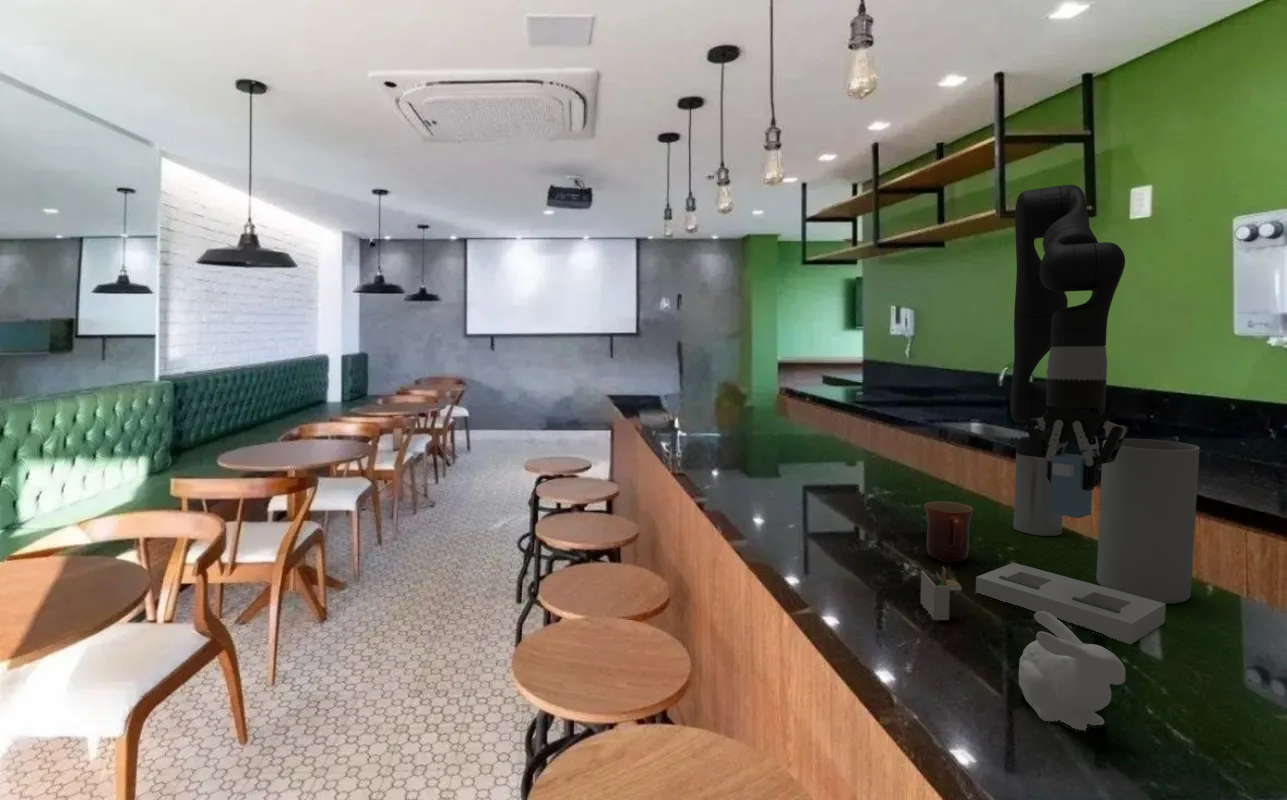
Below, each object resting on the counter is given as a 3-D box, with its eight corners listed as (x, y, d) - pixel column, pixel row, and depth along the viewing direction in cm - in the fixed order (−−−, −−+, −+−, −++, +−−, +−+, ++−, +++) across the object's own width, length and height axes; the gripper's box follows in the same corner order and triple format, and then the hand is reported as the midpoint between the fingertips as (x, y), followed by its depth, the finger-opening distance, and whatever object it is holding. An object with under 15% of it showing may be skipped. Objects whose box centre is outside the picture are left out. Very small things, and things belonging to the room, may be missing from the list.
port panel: (1013, 579, 114) (1013, 561, 113) (1164, 623, 95) (1165, 601, 95) (975, 594, 107) (976, 575, 107) (1130, 644, 89) (1131, 621, 88)
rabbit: (1133, 742, 67) (1139, 632, 66) (1048, 746, 67) (1053, 636, 66) (1053, 681, 79) (1057, 588, 78) (981, 685, 79) (984, 591, 78)
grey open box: (946, 606, 103) (947, 558, 103) (961, 625, 97) (962, 573, 96) (920, 605, 104) (921, 558, 103) (933, 623, 97) (934, 573, 96)
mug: (918, 549, 130) (919, 500, 129) (964, 551, 129) (966, 502, 128) (932, 570, 119) (934, 516, 118) (983, 572, 117) (985, 518, 116)
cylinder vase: (1169, 581, 111) (1178, 440, 109) (1205, 609, 100) (1215, 451, 97) (1086, 574, 115) (1092, 437, 113) (1111, 600, 104) (1118, 448, 102)
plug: (1062, 509, 102) (1065, 453, 101) (1090, 514, 98) (1093, 456, 98) (1045, 514, 99) (1047, 456, 98) (1073, 519, 95) (1076, 460, 95)
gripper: (1142, 377, 93) (1136, 492, 95) (1040, 374, 105) (1036, 477, 107) (1118, 378, 89) (1113, 499, 91) (1015, 375, 101) (1011, 482, 103)
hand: (1071, 486), depth 99 cm, fingers closed on plug, 4 cm apart
